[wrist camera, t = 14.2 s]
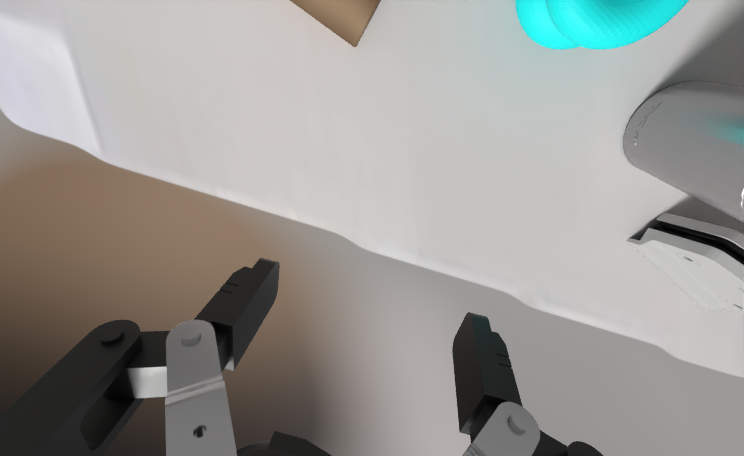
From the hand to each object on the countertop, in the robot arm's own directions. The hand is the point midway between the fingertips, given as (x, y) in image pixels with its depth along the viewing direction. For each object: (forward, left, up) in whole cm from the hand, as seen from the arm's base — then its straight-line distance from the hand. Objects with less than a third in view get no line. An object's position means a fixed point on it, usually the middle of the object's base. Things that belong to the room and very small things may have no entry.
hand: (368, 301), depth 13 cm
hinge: (-40, +5, -27) cm, 49 cm away
